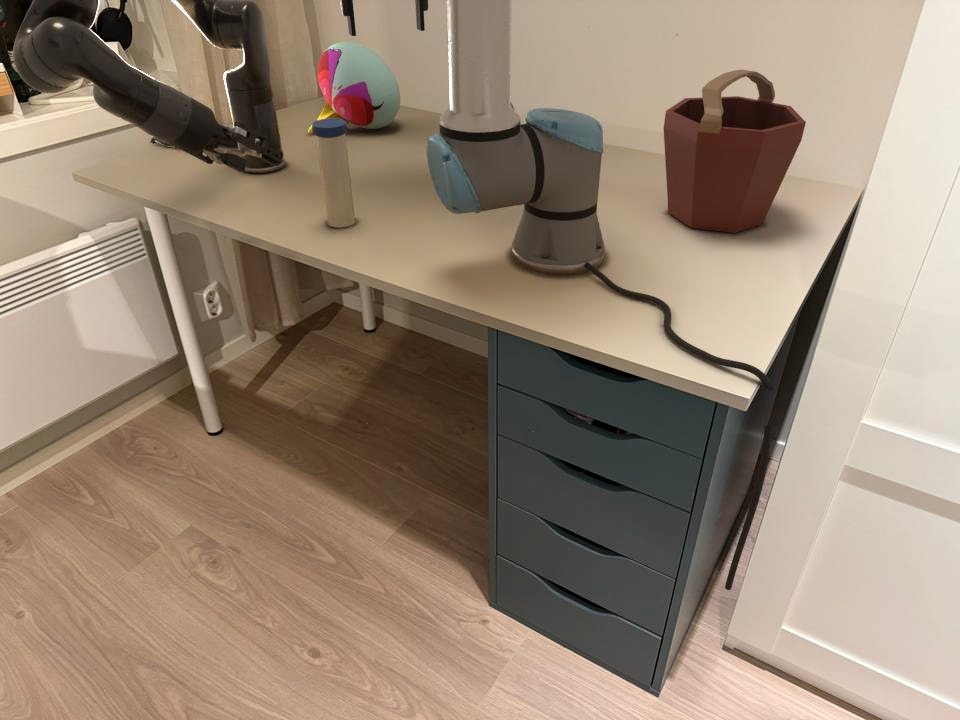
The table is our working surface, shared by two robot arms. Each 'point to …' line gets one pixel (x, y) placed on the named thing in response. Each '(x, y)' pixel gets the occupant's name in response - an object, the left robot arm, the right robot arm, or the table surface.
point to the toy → (357, 86)
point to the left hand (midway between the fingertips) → (261, 163)
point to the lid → (329, 127)
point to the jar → (336, 180)
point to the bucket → (728, 154)
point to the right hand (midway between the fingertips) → (387, 32)
